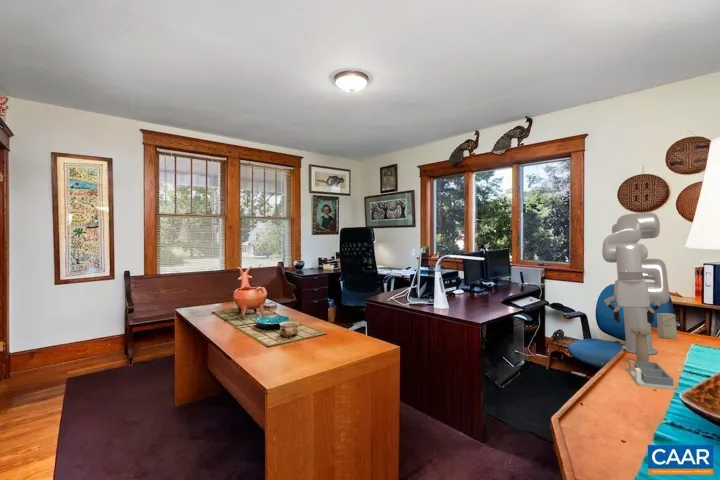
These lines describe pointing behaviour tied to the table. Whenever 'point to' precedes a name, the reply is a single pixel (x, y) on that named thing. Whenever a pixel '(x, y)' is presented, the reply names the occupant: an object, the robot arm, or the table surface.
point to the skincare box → (666, 325)
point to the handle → (641, 344)
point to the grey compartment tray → (650, 375)
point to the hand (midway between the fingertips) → (633, 322)
